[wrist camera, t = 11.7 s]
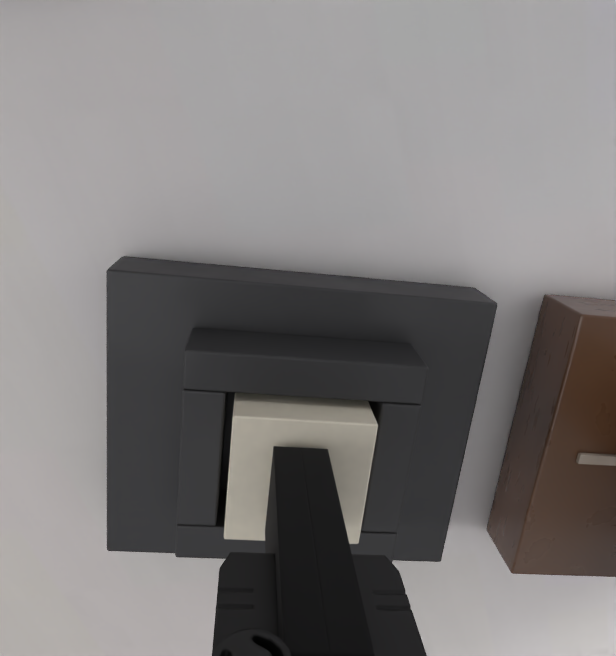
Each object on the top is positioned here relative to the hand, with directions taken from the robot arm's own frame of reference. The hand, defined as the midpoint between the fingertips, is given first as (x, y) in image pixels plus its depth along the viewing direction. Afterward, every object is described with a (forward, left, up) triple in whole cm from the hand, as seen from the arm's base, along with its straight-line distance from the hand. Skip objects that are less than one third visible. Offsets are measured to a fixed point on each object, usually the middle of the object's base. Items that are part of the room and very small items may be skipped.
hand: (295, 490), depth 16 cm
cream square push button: (0, 0, -3) cm, 3 cm away
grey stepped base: (0, 0, -5) cm, 5 cm away
